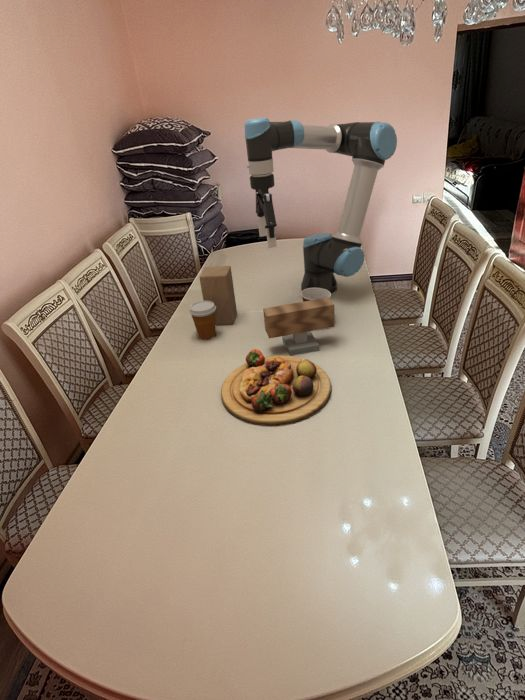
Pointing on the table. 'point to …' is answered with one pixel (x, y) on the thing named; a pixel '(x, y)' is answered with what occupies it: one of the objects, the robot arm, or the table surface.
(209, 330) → the disposable coffee cup
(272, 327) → the walnut beam
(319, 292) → the plastic cup
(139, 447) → the table surface
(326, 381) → the wooden plate with food
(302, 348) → the pedestal
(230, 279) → the wooden block
